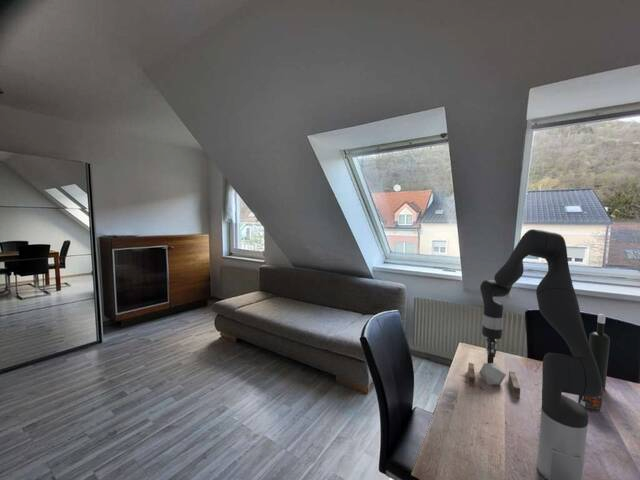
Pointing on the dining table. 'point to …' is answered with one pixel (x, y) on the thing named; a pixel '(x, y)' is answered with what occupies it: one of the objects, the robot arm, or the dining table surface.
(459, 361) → the dining table surface
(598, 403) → the supplement bottle
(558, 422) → the robot arm
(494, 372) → the die
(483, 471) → the dining table surface
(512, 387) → the pair of wooden rails
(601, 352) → the wine bottle
